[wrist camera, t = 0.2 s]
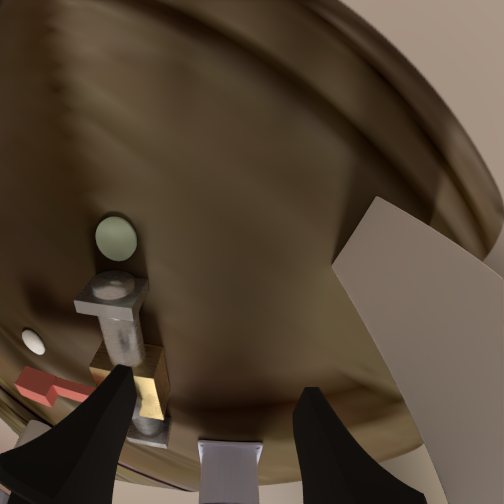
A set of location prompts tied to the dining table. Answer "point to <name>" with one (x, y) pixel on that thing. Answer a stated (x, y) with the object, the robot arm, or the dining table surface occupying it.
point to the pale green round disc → (116, 238)
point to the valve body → (129, 350)
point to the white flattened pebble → (33, 342)
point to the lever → (55, 388)
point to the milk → (435, 342)
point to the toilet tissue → (31, 432)
